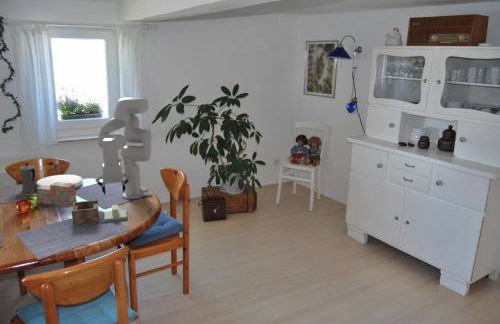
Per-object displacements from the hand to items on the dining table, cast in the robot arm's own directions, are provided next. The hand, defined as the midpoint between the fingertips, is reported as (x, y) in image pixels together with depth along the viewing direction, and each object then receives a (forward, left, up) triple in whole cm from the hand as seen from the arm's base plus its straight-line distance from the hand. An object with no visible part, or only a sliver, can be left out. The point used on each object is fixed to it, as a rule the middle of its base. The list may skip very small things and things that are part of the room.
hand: (114, 192), depth 220 cm
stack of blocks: (+32, -30, -14) cm, 46 cm away
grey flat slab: (+1, +1, -14) cm, 14 cm away
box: (+15, +1, -14) cm, 20 cm away
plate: (+34, -63, -14) cm, 73 cm away
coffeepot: (+51, -59, -14) cm, 79 cm away
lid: (0, +1, -13) cm, 13 cm away
